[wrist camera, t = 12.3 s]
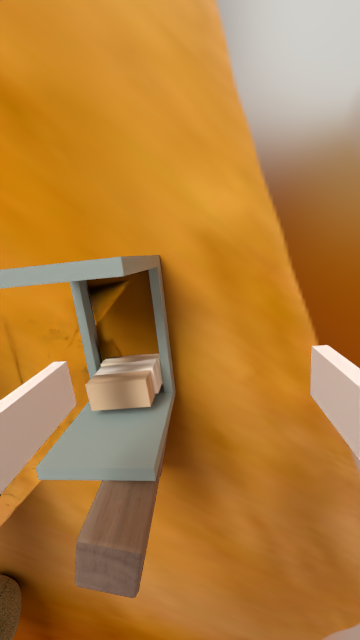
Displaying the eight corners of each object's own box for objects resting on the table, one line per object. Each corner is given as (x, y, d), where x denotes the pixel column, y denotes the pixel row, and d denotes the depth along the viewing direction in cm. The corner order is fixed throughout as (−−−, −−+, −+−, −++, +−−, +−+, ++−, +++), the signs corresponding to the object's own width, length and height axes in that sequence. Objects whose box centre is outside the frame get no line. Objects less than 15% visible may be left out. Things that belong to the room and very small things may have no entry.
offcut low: (112, 378, 33) (105, 388, 31) (107, 356, 33) (100, 364, 30) (166, 375, 32) (162, 384, 30) (162, 351, 32) (158, 359, 29)
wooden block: (165, 452, 36) (130, 643, 18) (133, 447, 36) (70, 630, 18) (173, 397, 33) (143, 555, 16) (140, 391, 33) (74, 541, 16)
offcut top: (100, 399, 29) (91, 410, 27) (94, 375, 28) (85, 385, 26) (155, 395, 28) (150, 406, 26) (150, 370, 27) (145, 379, 25)
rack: (101, 395, 34) (39, 479, 21) (75, 264, 29) (-22, 272, 17) (175, 393, 32) (155, 480, 20) (159, 255, 28) (120, 256, 16)
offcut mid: (108, 389, 31) (100, 400, 29) (102, 366, 30) (93, 375, 28) (162, 382, 30) (158, 393, 28) (156, 358, 29) (152, 367, 27)
